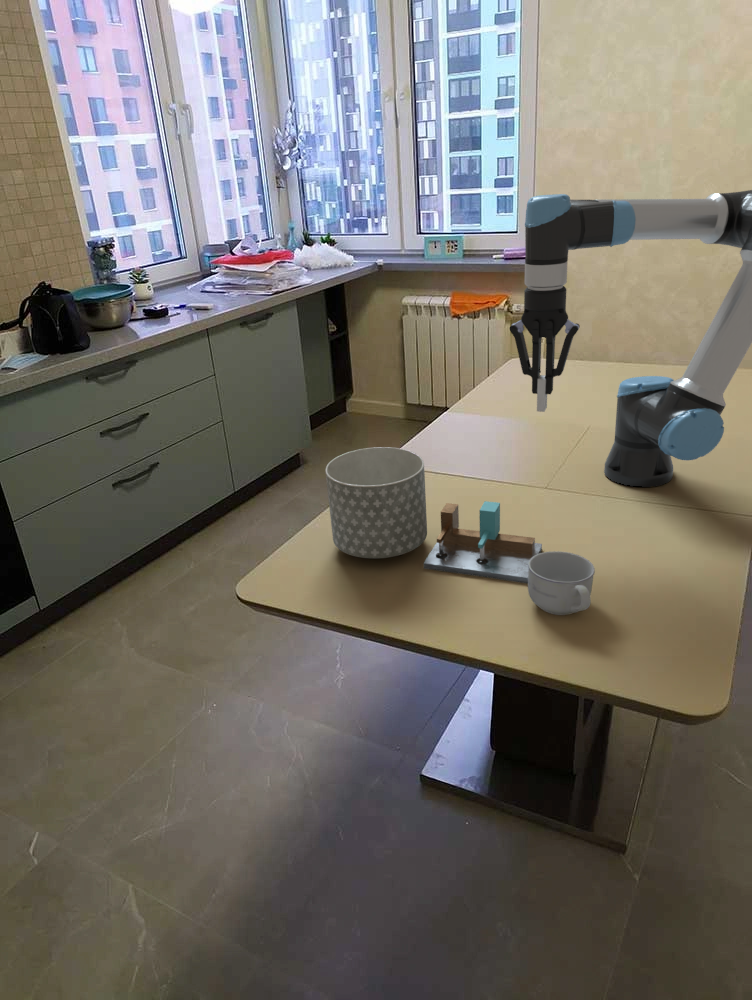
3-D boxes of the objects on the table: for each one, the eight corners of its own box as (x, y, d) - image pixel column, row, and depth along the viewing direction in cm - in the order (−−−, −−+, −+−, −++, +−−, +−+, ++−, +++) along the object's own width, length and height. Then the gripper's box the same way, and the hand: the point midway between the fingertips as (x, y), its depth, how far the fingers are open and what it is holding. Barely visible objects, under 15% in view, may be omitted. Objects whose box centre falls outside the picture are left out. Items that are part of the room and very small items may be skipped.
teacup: (520, 591, 128) (520, 552, 125) (579, 584, 129) (582, 545, 125) (542, 637, 116) (544, 596, 112) (608, 630, 116) (612, 588, 113)
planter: (338, 527, 155) (329, 449, 147) (426, 523, 154) (422, 444, 146) (330, 574, 138) (320, 488, 130) (429, 569, 137) (425, 483, 129)
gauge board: (541, 549, 141) (543, 509, 137) (528, 583, 130) (529, 542, 127) (443, 536, 148) (442, 499, 145) (423, 568, 138) (421, 528, 134)
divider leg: (499, 539, 142) (500, 502, 138) (488, 563, 134) (488, 524, 131) (484, 537, 143) (484, 501, 140) (472, 561, 135) (472, 523, 132)
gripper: (584, 282, 132) (578, 405, 143) (514, 283, 137) (513, 401, 147) (579, 290, 126) (572, 417, 136) (505, 290, 131) (504, 413, 141)
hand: (541, 409), depth 142 cm, fingers closed
